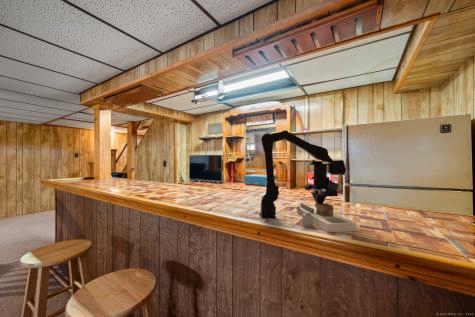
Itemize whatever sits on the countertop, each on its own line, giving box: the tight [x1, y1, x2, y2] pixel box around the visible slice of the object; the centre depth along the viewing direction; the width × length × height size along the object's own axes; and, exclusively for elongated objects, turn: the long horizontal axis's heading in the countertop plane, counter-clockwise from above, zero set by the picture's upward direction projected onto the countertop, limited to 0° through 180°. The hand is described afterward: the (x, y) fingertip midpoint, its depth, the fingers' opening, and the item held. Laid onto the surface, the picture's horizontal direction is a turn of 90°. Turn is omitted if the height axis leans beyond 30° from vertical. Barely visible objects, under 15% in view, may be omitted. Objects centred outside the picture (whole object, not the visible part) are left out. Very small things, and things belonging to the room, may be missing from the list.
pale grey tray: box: [296, 202, 357, 233], centre depth 92 cm, size 12×28×5 cm, turn 7°
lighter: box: [295, 204, 314, 227], centre depth 86 cm, size 7×2×8 cm, turn 68°
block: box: [316, 202, 334, 217], centre depth 90 cm, size 5×5×4 cm
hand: (319, 208), depth 94 cm, fingers closed
